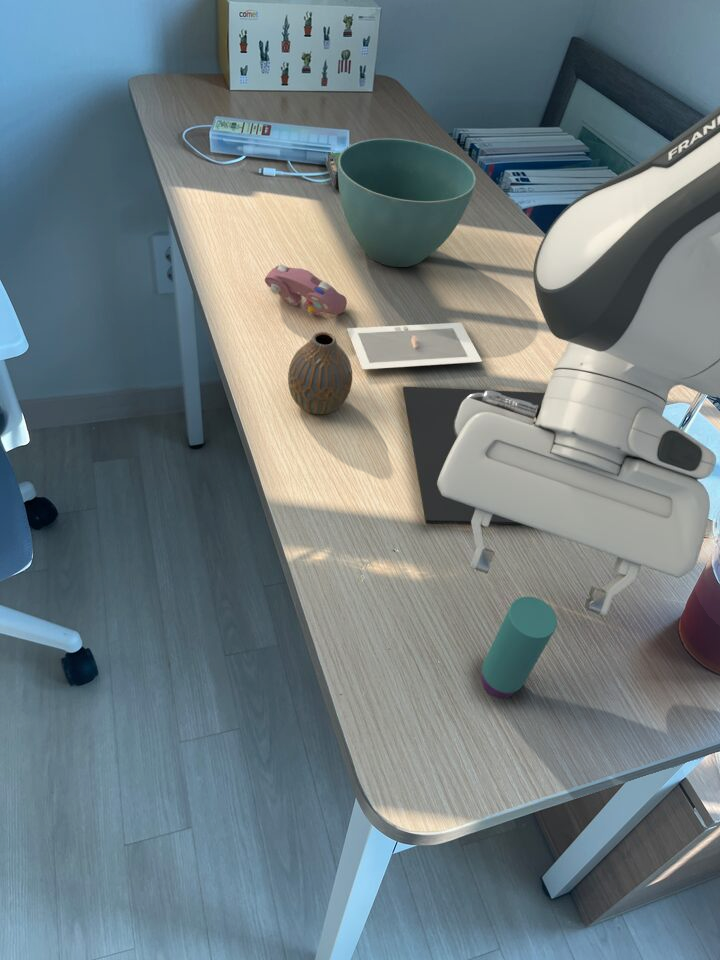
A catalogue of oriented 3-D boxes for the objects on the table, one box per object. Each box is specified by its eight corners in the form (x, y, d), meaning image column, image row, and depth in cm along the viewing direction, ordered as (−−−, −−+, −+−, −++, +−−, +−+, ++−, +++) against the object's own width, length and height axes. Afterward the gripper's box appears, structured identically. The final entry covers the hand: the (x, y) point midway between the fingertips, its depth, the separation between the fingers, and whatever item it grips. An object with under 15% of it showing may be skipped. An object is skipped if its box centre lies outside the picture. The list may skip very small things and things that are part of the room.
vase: (277, 412, 82) (280, 348, 76) (299, 375, 87) (304, 311, 80) (337, 431, 81) (345, 367, 75) (356, 392, 86) (365, 329, 80)
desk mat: (599, 397, 91) (600, 394, 90) (654, 527, 77) (657, 524, 77) (402, 388, 87) (403, 385, 87) (425, 522, 74) (426, 519, 74)
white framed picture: (480, 368, 92) (484, 354, 90) (361, 376, 88) (363, 362, 86) (459, 329, 97) (462, 315, 95) (345, 335, 93) (347, 321, 91)
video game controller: (268, 306, 98) (255, 274, 91) (285, 278, 99) (274, 245, 92) (334, 334, 95) (326, 304, 89) (351, 305, 97) (344, 273, 90)
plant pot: (304, 235, 108) (311, 150, 99) (402, 209, 117) (415, 128, 108) (383, 301, 99) (397, 214, 90) (481, 267, 108) (504, 185, 99)
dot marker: (515, 662, 65) (550, 596, 57) (524, 701, 62) (562, 638, 55) (474, 662, 64) (504, 596, 57) (482, 702, 62) (514, 638, 54)
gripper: (467, 376, 57) (407, 549, 58) (739, 464, 54) (673, 645, 55) (468, 387, 63) (414, 542, 64) (712, 466, 60) (653, 629, 61)
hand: (535, 590), depth 59 cm, fingers open, 8 cm apart
